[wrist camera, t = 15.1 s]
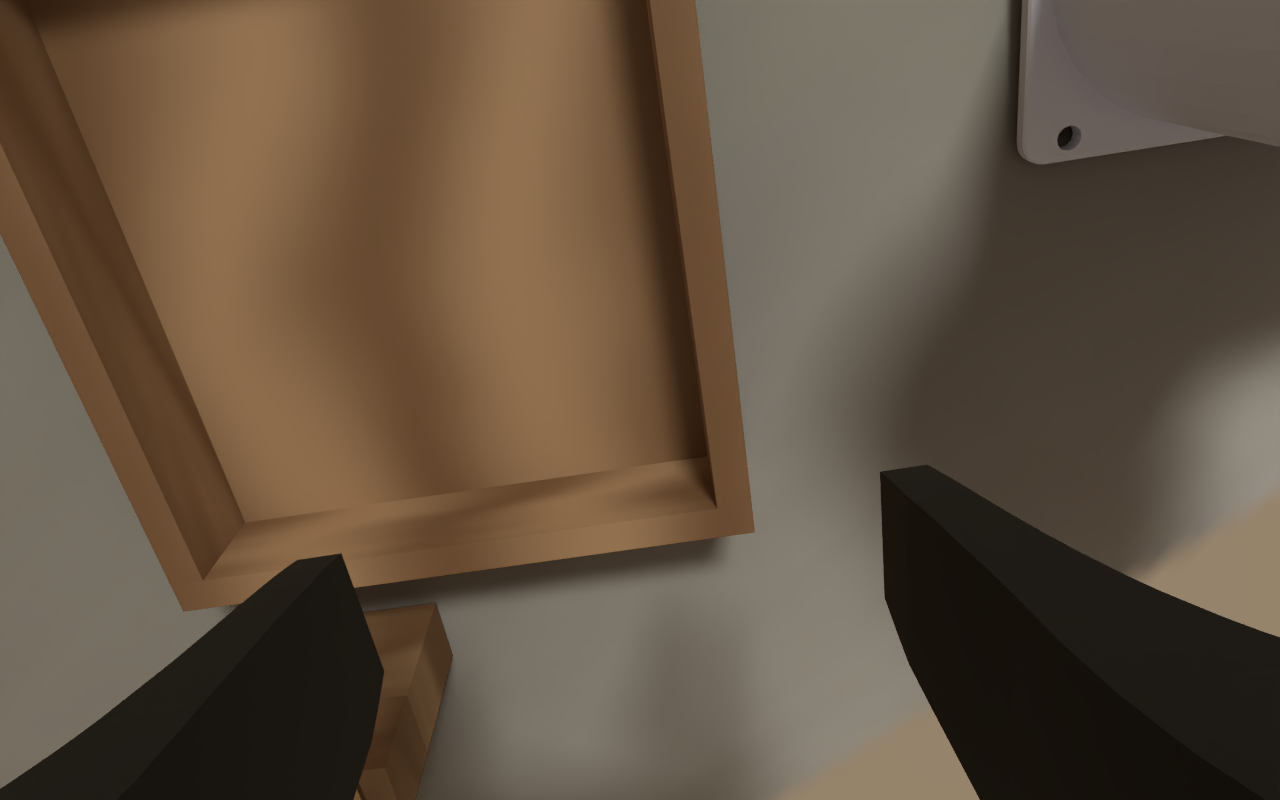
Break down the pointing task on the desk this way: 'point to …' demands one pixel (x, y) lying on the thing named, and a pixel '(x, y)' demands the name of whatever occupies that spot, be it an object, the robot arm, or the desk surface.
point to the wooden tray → (381, 289)
